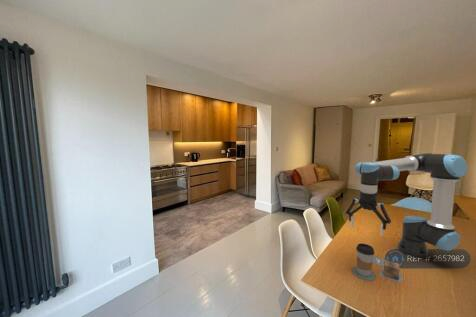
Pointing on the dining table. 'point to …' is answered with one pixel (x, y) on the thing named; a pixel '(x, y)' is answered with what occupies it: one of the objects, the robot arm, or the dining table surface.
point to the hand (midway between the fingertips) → (366, 231)
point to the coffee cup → (364, 259)
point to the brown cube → (391, 269)
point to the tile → (378, 261)
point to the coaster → (370, 278)
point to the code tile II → (391, 278)
